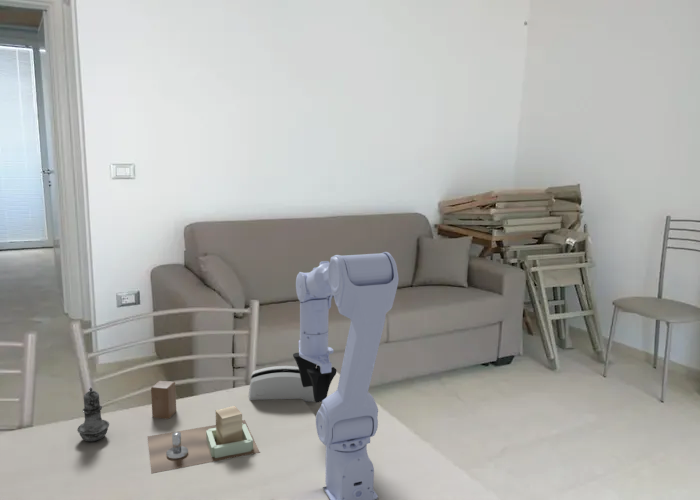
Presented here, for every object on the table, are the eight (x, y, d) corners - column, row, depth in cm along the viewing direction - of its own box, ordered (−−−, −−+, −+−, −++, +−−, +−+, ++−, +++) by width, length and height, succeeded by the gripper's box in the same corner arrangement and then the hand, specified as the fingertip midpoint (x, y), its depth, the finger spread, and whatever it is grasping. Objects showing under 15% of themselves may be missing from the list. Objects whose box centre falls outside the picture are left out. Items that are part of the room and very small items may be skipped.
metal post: (189, 457, 107) (188, 436, 106) (167, 461, 105) (166, 440, 105) (186, 447, 110) (186, 427, 110) (165, 450, 109) (164, 430, 108)
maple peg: (242, 446, 111) (242, 413, 110) (223, 451, 109) (222, 418, 108) (235, 437, 114) (234, 405, 113) (216, 442, 112) (215, 410, 111)
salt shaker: (75, 452, 110) (71, 395, 108) (81, 437, 115) (77, 382, 113) (108, 448, 111) (104, 392, 109) (112, 434, 117) (108, 380, 115)
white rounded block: (317, 392, 139) (318, 361, 134) (318, 406, 135) (319, 375, 129) (249, 393, 137) (247, 362, 132) (248, 408, 133) (246, 376, 128)
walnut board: (259, 457, 109) (259, 452, 109) (151, 478, 102) (151, 473, 101) (244, 424, 122) (244, 420, 122) (147, 440, 114) (147, 436, 114)
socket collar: (253, 450, 110) (253, 441, 109) (212, 458, 106) (211, 449, 106) (245, 431, 117) (244, 422, 116) (206, 438, 114) (205, 429, 113)
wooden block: (151, 421, 122) (150, 387, 121) (160, 413, 126) (159, 379, 125) (169, 423, 122) (167, 388, 120) (177, 414, 126) (175, 381, 124)
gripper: (346, 339, 108) (345, 405, 110) (320, 318, 121) (319, 377, 123) (311, 343, 105) (311, 411, 107) (289, 321, 118) (289, 381, 120)
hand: (313, 393), depth 115 cm, fingers open, 7 cm apart
